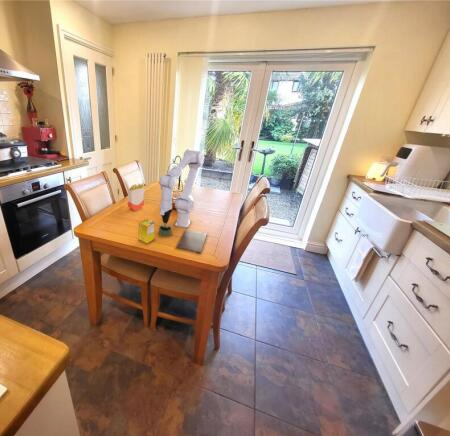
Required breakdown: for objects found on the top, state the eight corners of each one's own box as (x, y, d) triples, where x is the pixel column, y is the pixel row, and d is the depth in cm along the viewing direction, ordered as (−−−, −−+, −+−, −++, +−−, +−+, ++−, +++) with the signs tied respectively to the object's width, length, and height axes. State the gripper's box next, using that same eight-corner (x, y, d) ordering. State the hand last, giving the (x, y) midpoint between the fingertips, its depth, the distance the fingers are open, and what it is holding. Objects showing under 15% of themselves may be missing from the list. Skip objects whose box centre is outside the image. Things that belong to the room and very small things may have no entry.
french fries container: (127, 209, 159) (126, 184, 152) (139, 205, 167) (139, 181, 159) (131, 211, 157) (131, 186, 149) (143, 207, 164) (144, 182, 156)
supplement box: (146, 236, 127) (146, 218, 123) (154, 240, 124) (155, 221, 119) (138, 240, 123) (138, 222, 118) (147, 244, 120) (147, 225, 115)
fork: (163, 228, 130) (163, 214, 127) (168, 229, 130) (169, 214, 126) (162, 230, 129) (162, 215, 125) (167, 231, 128) (168, 216, 124)
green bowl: (161, 230, 134) (161, 224, 132) (172, 232, 132) (173, 226, 131) (157, 236, 128) (157, 229, 126) (169, 238, 126) (169, 231, 125)
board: (185, 231, 134) (186, 229, 134) (206, 235, 131) (206, 233, 131) (176, 248, 117) (176, 247, 117) (200, 253, 114) (200, 252, 114)
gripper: (163, 193, 129) (162, 215, 134) (154, 202, 116) (154, 226, 122) (176, 195, 127) (174, 217, 132) (168, 204, 114) (167, 228, 120)
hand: (165, 222), depth 127 cm, fingers closed on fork, 1 cm apart
